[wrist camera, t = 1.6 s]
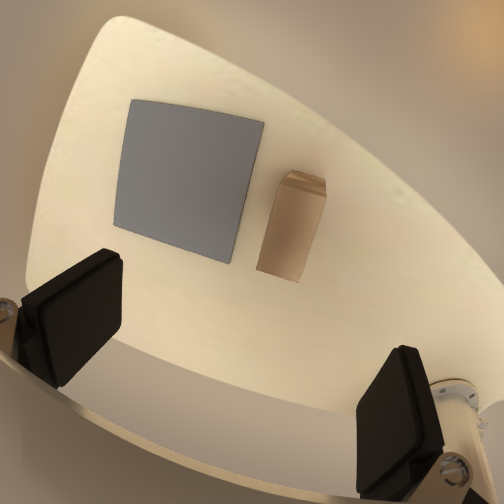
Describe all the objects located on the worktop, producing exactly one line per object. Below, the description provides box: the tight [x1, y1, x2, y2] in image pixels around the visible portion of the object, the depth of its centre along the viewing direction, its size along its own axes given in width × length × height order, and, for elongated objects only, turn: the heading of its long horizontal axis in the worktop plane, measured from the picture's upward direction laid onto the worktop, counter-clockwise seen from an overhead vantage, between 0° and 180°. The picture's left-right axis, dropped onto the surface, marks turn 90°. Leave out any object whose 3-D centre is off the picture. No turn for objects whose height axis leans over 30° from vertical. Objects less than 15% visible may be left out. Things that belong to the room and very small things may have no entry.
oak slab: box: [256, 170, 326, 283], centre depth 24 cm, size 3×6×9 cm, turn 166°
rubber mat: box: [113, 100, 264, 264], centre depth 29 cm, size 14×14×1 cm
